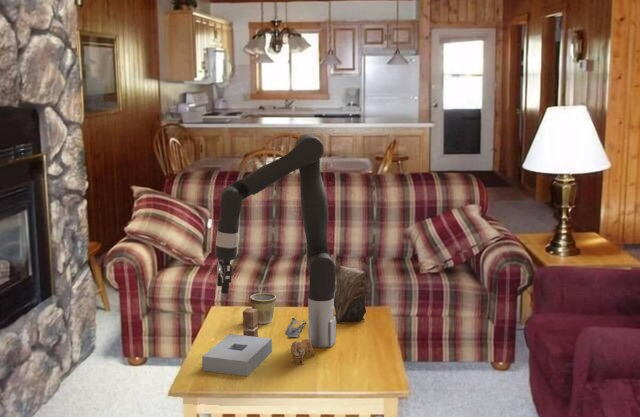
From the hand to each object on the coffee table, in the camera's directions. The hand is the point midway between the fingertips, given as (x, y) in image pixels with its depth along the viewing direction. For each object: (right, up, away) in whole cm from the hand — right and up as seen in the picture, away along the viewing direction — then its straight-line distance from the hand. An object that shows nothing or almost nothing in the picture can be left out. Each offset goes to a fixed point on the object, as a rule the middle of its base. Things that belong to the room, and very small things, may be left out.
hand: (222, 289), depth 273 cm
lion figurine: (+28, -24, -6) cm, 37 cm away
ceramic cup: (+12, -16, +35) cm, 41 cm away
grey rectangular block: (+6, -24, -6) cm, 25 cm away
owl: (+44, -15, +37) cm, 60 cm away
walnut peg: (+9, -20, +12) cm, 25 cm away
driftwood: (+25, -18, +25) cm, 40 cm away
